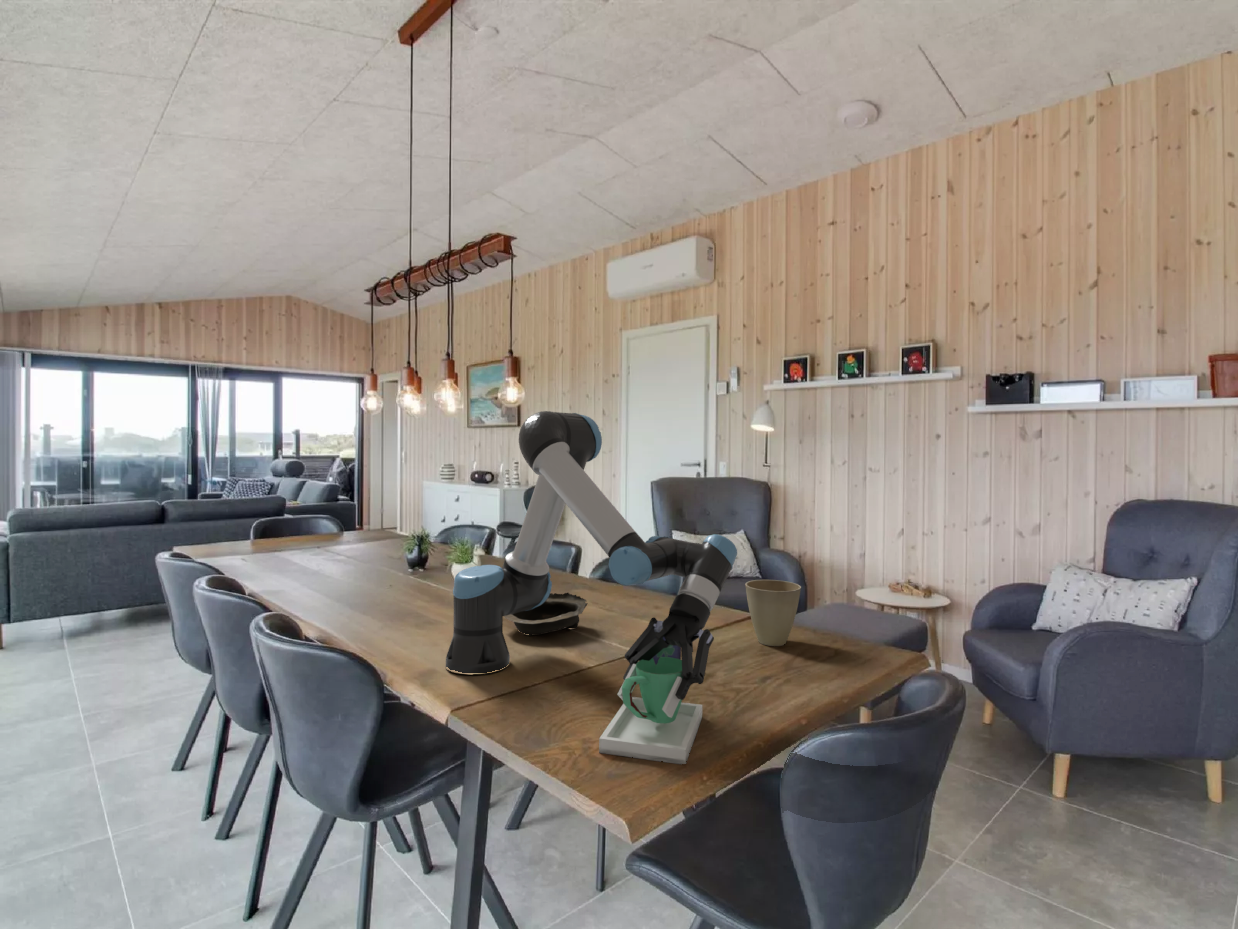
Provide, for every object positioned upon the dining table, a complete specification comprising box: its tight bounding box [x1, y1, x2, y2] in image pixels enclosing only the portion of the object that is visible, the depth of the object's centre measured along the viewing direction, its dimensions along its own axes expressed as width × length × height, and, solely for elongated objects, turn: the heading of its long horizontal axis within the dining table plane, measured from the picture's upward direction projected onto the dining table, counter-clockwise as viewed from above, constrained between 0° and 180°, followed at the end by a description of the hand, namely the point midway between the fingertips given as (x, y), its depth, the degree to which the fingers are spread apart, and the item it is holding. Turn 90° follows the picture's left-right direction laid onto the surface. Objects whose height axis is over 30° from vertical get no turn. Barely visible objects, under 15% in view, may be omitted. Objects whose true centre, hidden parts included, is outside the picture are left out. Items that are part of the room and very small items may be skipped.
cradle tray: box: [598, 696, 703, 765], centre depth 118 cm, size 15×20×2 cm
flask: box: [653, 628, 682, 665], centre depth 156 cm, size 9×3×11 cm, turn 109°
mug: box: [621, 657, 683, 724], centre depth 118 cm, size 15×10×10 cm
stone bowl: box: [503, 592, 589, 636], centre depth 186 cm, size 25×25×9 cm
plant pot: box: [744, 579, 802, 647], centre depth 176 cm, size 15×15×16 cm
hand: (643, 705), depth 115 cm, fingers closed on mug, 10 cm apart
